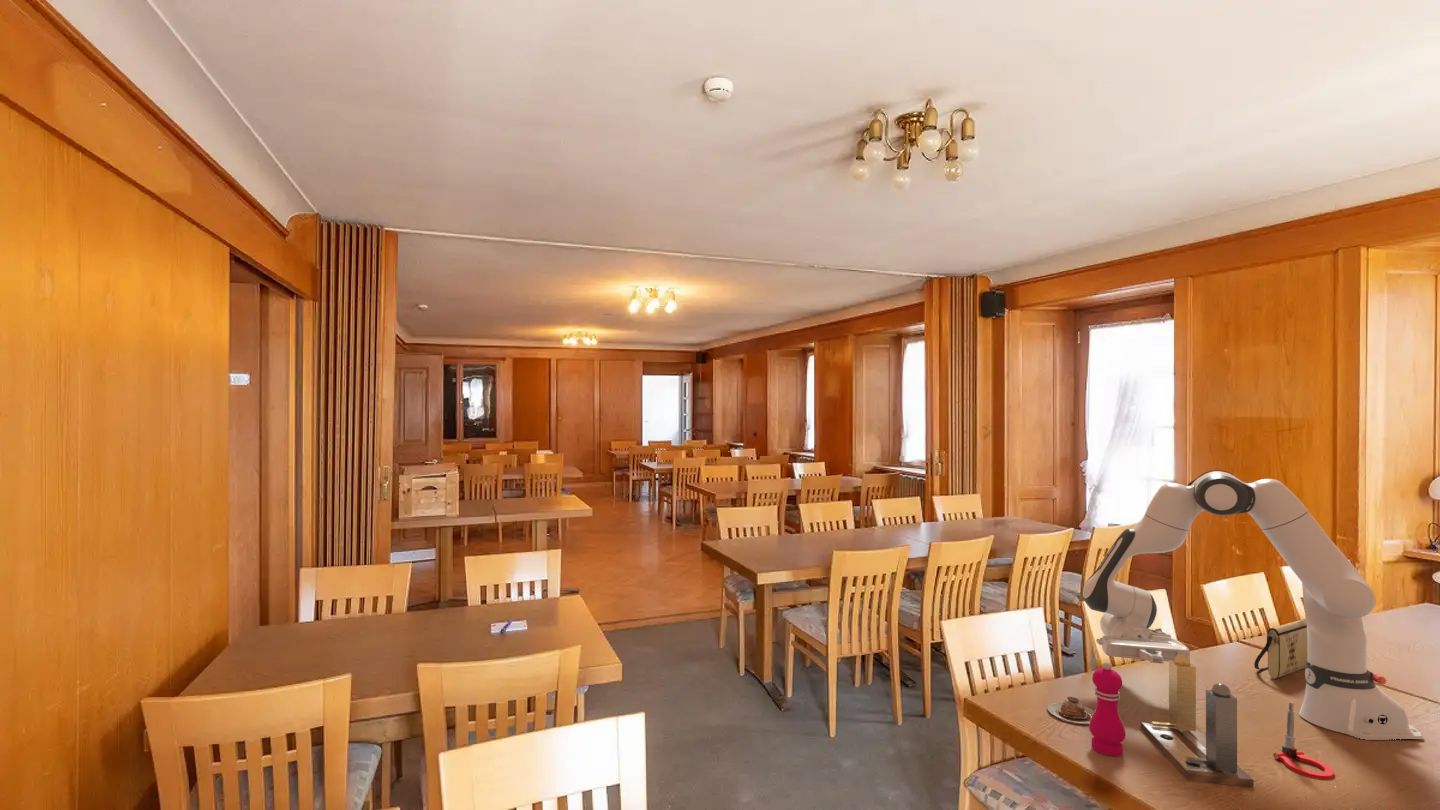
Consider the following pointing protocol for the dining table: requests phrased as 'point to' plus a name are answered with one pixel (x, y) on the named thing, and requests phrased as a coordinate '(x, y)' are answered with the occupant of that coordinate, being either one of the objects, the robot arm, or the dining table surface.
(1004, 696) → the dining table surface
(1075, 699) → the pastry
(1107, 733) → the pepper mill
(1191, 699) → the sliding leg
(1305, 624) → the clutch purse
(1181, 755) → the bolt strip
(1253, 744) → the dining table surface
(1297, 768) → the tow hook
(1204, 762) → the fixed leg
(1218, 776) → the walnut board
